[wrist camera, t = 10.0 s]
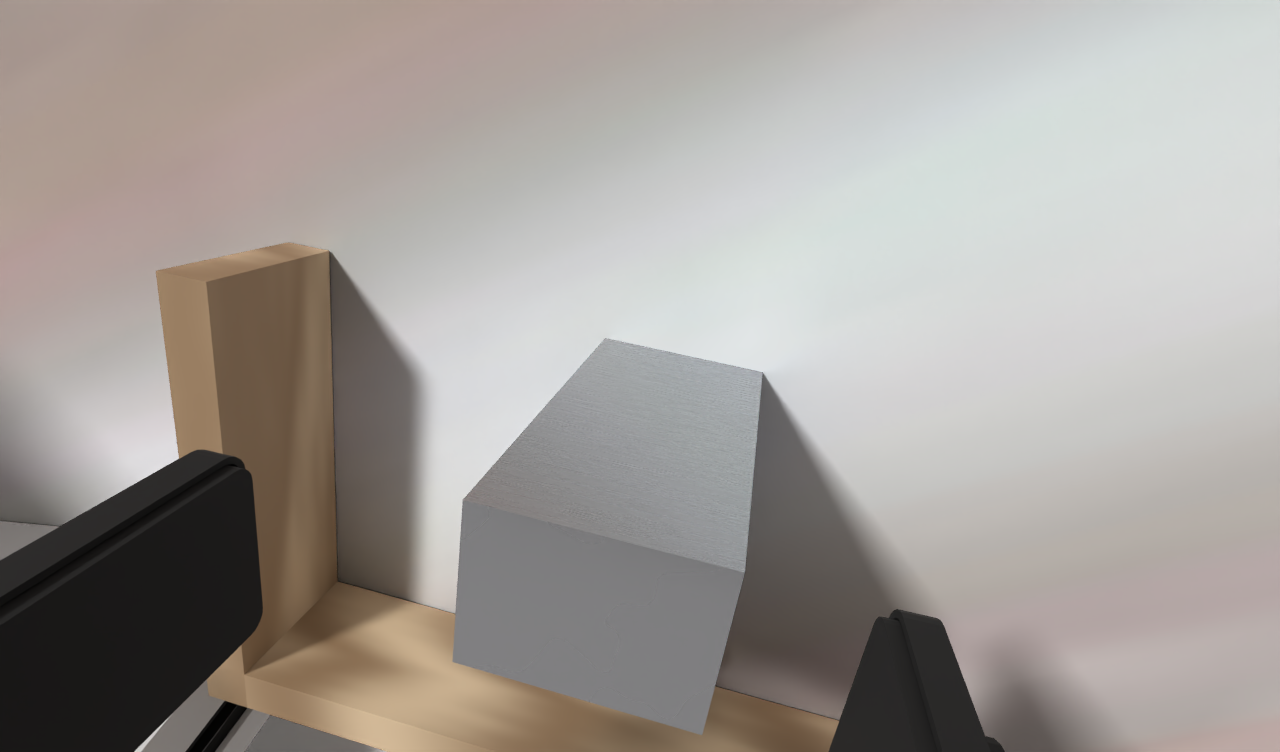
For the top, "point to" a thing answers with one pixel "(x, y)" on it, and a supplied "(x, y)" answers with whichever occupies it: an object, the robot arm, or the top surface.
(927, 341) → the top surface
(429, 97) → the top surface
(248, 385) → the wooden corner frame
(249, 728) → the hinge
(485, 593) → the bracket
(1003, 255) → the top surface
